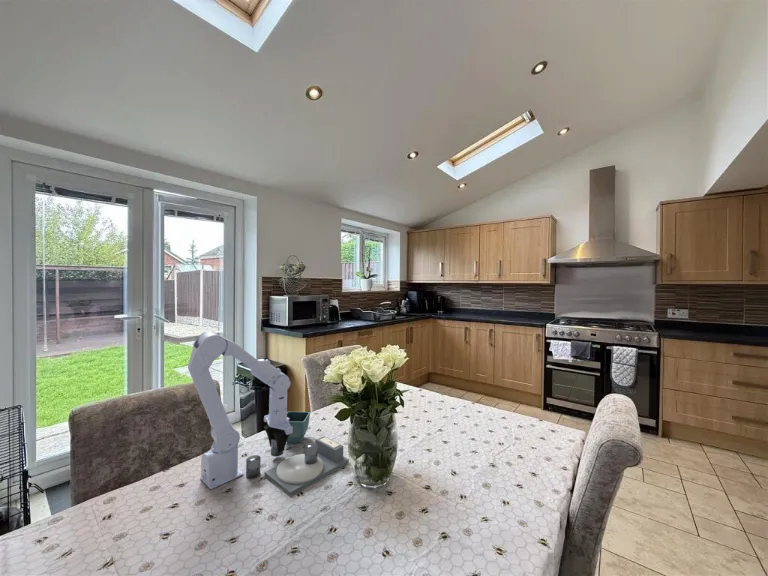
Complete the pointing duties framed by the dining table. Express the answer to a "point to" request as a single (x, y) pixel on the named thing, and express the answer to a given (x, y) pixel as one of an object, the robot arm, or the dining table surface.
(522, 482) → the dining table surface
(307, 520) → the dining table surface
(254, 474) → the cylinder
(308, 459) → the cylinder
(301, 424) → the flower pot
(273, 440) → the cylinder
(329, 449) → the scale
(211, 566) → the dining table surface
